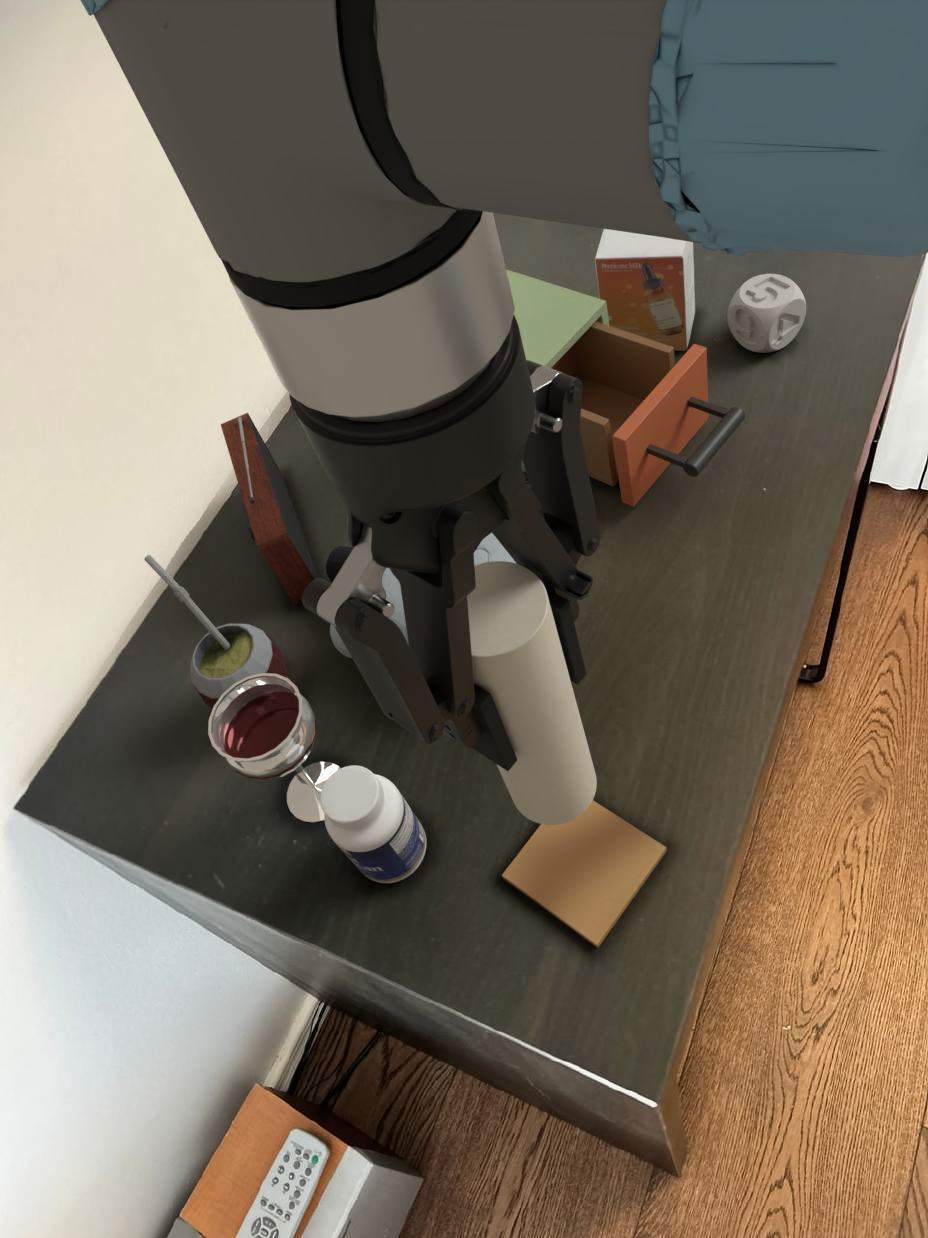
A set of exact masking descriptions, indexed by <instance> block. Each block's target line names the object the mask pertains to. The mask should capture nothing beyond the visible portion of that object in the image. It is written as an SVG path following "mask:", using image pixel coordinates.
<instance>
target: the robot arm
mask: <svg viewBox="0 0 928 1238" xmlns="http://www.w3.org/2000/svg"><path fill="white" fill-rule="evenodd" d="M80 2H81V4H82V6H83V7H84V9H85V11H86V12H87V14H88V16H89V17H91V16H93V17H94V19H95V21H96V22H97V25H98V26H99V28H100V30H101V32H102V34H103V37H104V38H105V40H106V42H107V44H108V46H109V47H110V51H112V54H113V55H114V57H115V59H116V62H117V63H118V65H119V66H120V69H121V71H122V73H123V75H124V77H125V78H126V81H127V83H128V84H129V86H130V89H131V90H132V93H133V94H134V96H135V98H136V100H137V102H138V104H139V106H140V108H141V110H142V111H143V113H144V115H145V117H146V119H147V122H148V123H149V125H150V127H151V130H152V131H153V134H154V135H155V136H156V139H157V140H158V142H159V144H160V146H161V148H162V151H163V152H164V154H165V156H166V158H167V160H168V162H169V164H170V166H171V168H172V170H173V172H174V174H175V175H176V177H177V179H178V181H179V183H180V185H181V187H182V189H183V191H184V193H185V194H186V196H187V198H188V200H189V203H190V205H191V206H192V208H193V210H194V213H195V214H196V216H197V219H198V220H199V223H200V224H201V226H202V228H203V230H204V232H205V234H206V236H207V238H208V240H209V242H210V244H211V246H212V247H213V250H214V251H215V253H216V255H217V257H218V258H219V259H220V261H221V263H222V265H223V267H224V269H225V271H226V273H227V276H228V278H229V281H230V283H231V285H232V287H233V289H234V292H235V293H236V295H237V298H238V299H239V301H240V304H241V306H242V308H243V310H244V312H245V313H246V315H247V318H248V320H249V321H250V324H251V325H252V329H254V332H255V334H256V335H257V337H258V340H259V342H260V343H261V344H260V345H261V346H262V348H263V350H264V352H265V354H266V356H267V358H268V360H269V361H270V364H271V366H272V368H273V370H274V372H275V374H276V376H277V378H278V380H279V382H280V384H281V385H282V386H283V388H284V389H285V390H286V391H287V393H288V396H289V401H290V404H291V407H292V409H293V411H294V413H295V415H296V417H297V419H298V421H299V423H300V425H301V428H302V430H303V432H304V433H305V435H306V438H307V439H308V441H309V444H310V446H311V447H312V450H313V451H314V454H315V456H316V457H317V460H318V462H319V463H320V465H321V466H320V467H322V470H323V471H324V474H325V475H326V477H327V479H328V480H329V482H330V483H331V485H332V486H333V488H334V490H335V491H336V492H337V494H338V496H339V497H340V498H341V500H342V501H343V503H344V505H345V508H346V515H347V516H346V517H347V518H346V519H347V522H346V535H347V540H348V542H349V544H350V547H351V548H353V550H352V551H351V553H350V555H349V556H348V558H347V560H346V561H345V563H344V565H343V566H342V568H341V569H340V571H339V573H338V574H337V576H336V578H335V579H334V581H333V582H331V581H328V580H327V579H325V578H322V577H318V579H315V580H313V581H312V582H310V583H309V585H308V586H307V587H306V588H305V591H304V593H303V597H302V602H301V603H302V606H303V607H304V608H305V609H307V610H308V611H309V612H311V613H313V614H314V615H316V616H318V617H319V618H321V619H322V620H324V621H325V622H326V623H328V624H330V625H331V624H332V625H333V626H334V627H335V629H336V631H337V632H338V634H339V636H340V638H341V639H342V641H343V643H344V645H345V646H346V648H347V650H348V652H349V653H350V655H351V657H352V658H351V659H352V661H353V662H354V664H355V665H356V667H357V669H358V671H359V672H360V674H361V676H362V678H363V679H364V681H365V683H366V685H367V687H368V688H369V690H370V692H371V693H372V695H373V697H374V699H375V700H376V703H377V704H378V706H379V707H380V709H381V711H382V713H383V715H385V716H386V717H388V718H389V719H390V720H392V721H393V722H395V723H396V724H397V725H399V726H400V727H402V728H404V729H405V730H407V731H408V732H409V733H411V734H413V735H414V736H415V737H416V738H418V739H419V740H421V741H423V742H424V743H426V744H427V745H431V744H434V743H435V742H436V741H438V739H439V738H440V737H441V735H442V734H443V733H444V734H445V735H447V736H448V737H450V738H451V739H453V740H455V741H456V742H457V743H459V744H460V745H462V746H463V747H465V748H468V749H473V750H474V751H476V752H478V753H479V754H481V755H482V756H484V758H487V759H488V760H490V761H491V762H493V763H494V764H496V766H497V765H499V766H500V767H502V768H503V769H505V770H506V771H509V770H510V769H511V767H512V766H513V765H514V764H515V763H516V761H517V757H516V755H515V752H514V750H513V747H512V745H511V742H510V740H509V737H508V735H507V732H506V730H505V728H504V725H503V723H502V720H501V718H500V715H499V713H498V710H497V708H496V705H495V703H494V700H493V698H492V695H491V693H489V692H488V691H486V690H484V689H483V688H481V687H480V686H478V685H476V684H475V683H474V678H473V665H472V653H471V640H470V627H469V614H468V601H467V596H468V595H469V594H470V593H471V592H472V591H474V590H475V588H476V581H475V566H474V552H475V550H476V549H477V547H478V546H479V544H480V543H481V541H482V540H483V539H484V538H485V537H487V536H488V535H489V534H491V533H493V535H494V536H495V537H496V538H497V540H498V541H499V542H500V543H501V545H502V546H503V547H504V548H505V550H506V551H507V552H508V553H509V555H510V556H511V557H512V558H513V560H514V561H515V562H516V563H517V564H519V565H521V566H524V567H526V568H527V569H529V570H531V571H532V572H533V573H534V574H536V575H537V576H538V578H539V579H540V580H541V581H542V583H543V584H544V586H545V589H546V591H547V595H548V599H549V603H550V606H551V610H552V614H553V617H554V621H555V625H556V629H557V632H558V636H559V640H560V643H561V647H562V651H563V655H564V658H565V662H566V666H567V669H568V673H569V677H570V681H571V683H574V684H575V685H580V683H581V681H582V680H583V679H585V676H586V675H587V670H586V666H585V663H584V657H583V654H582V649H581V645H580V641H579V638H578V632H577V628H576V624H575V622H577V620H578V619H579V616H580V615H579V614H580V604H579V601H583V600H584V599H585V598H586V597H587V596H588V595H589V593H590V591H591V590H592V588H593V587H592V586H593V584H594V583H593V582H594V579H593V576H591V575H589V574H587V573H585V572H583V571H582V570H579V569H578V567H577V564H578V562H579V560H580V559H581V557H582V556H585V557H587V558H588V557H592V556H593V554H595V552H596V551H597V550H598V548H599V546H600V542H601V532H600V526H599V521H598V514H597V511H596V504H595V500H594V494H593V490H592V485H591V484H592V483H591V479H590V476H589V474H588V468H587V463H586V458H585V453H584V448H583V443H582V437H581V432H580V417H581V404H582V392H583V384H582V382H581V380H580V379H577V378H575V377H572V376H569V375H567V374H564V373H562V372H559V371H556V370H554V369H551V368H548V367H546V366H543V365H540V364H537V363H535V362H532V361H529V360H526V357H525V352H524V348H523V343H522V339H521V334H520V330H519V325H518V323H517V320H516V318H515V316H514V311H515V306H514V302H513V298H512V293H511V289H510V284H509V280H508V276H507V272H506V270H507V267H506V264H505V259H504V254H503V251H502V246H501V243H500V237H499V234H498V233H499V232H498V228H497V226H496V225H497V224H496V220H495V216H494V214H499V215H506V216H513V217H520V218H527V219H532V220H533V219H534V220H541V221H546V222H547V221H548V222H554V223H562V224H569V225H574V226H580V227H581V226H582V227H588V228H596V229H602V230H604V229H609V230H616V231H623V232H630V233H637V234H643V235H650V236H657V237H664V238H670V239H676V240H682V241H689V242H693V243H694V244H695V243H696V244H701V247H702V248H703V249H707V250H710V251H713V252H714V251H715V252H716V251H721V252H723V253H725V254H727V255H732V256H740V257H744V256H745V255H746V254H747V253H754V254H761V255H766V254H768V253H769V252H771V251H773V250H774V249H776V250H777V249H780V250H794V251H808V252H809V251H810V252H824V253H837V254H848V255H849V254H851V255H863V256H876V257H892V258H909V257H917V256H922V255H925V254H928V0H80ZM522 460H523V463H524V467H525V471H526V472H524V471H522V469H521V464H522ZM526 478H527V481H526ZM386 568H390V570H391V572H392V574H393V575H394V576H395V577H396V578H397V580H398V581H399V583H400V587H401V594H402V601H403V608H404V615H405V622H406V629H407V636H408V643H409V645H408V643H407V641H406V639H405V637H404V635H403V633H402V631H401V630H400V628H399V627H398V626H397V625H396V624H395V623H394V622H393V621H392V620H390V619H389V617H391V616H392V614H393V612H394V605H393V604H392V603H390V602H389V601H387V600H386V591H385V590H384V588H383V586H382V576H383V573H384V571H385V569H386Z"/></svg>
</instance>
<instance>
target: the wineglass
mask: <svg viewBox="0 0 928 1238" xmlns="http://www.w3.org/2000/svg"><path fill="white" fill-rule="evenodd" d="M207 726H208V727H207V728H208V729H207V734H208V737H209V740H210V743H211V746H212V747H213V748H214V749H215V750H216V751H217V753H218V754H219V755H221V756H222V757H223V760H224V761H225V762H226V763H227V765H229V767H230V768H231V769H232V770H234V771H235V773H237V774H239V775H241V776H243V777H246V778H247V779H252V780H253V779H254V780H264V781H270V780H274V779H279V778H283V777H285V776H286V775H288V774H290V773H292V772H295V773H296V774H294V777H293V778H292V780H291V781H290V782H289V785H288V788H287V792H286V803H287V807H288V809H289V811H290V813H291V814H292V815H293V816H294V817H295V818H296V819H298V820H300V821H303V822H309V823H317V822H322V821H325V820H324V812H323V810H322V807H321V803H320V795H321V790H322V787H323V785H324V783H325V782H326V780H327V779H328V778H329V777H330V776H331V775H332V774H333V773H334V772H336V771H337V770H339V769H341V768H342V767H340V766H339V765H337V764H336V763H333V762H329V761H318V762H314V763H311V764H309V765H307V766H305V767H303V765H302V764H303V763H304V762H306V760H307V758H308V756H309V755H310V753H312V750H313V748H314V744H315V741H316V738H317V718H316V715H315V713H314V710H313V707H312V705H311V704H310V701H309V700H308V699H307V698H305V696H304V695H303V694H302V693H301V692H300V690H299V688H298V686H296V684H294V682H292V680H291V679H289V677H288V678H286V677H283V676H281V675H278V674H272V673H260V674H256V675H252V676H248V677H246V678H244V679H242V680H240V681H238V682H236V683H235V684H233V685H232V686H231V687H230V688H229V689H228V690H226V691H225V692H224V693H223V694H222V695H221V697H220V698H219V700H218V701H217V702H216V704H215V705H214V707H213V709H211V713H210V716H209V718H208V725H207Z"/></svg>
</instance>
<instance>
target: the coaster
mask: <svg viewBox="0 0 928 1238" xmlns="http://www.w3.org/2000/svg"><path fill="white" fill-rule="evenodd" d="M667 851H668V849H667V846H665V845H664V844H662V843H660V842H659V841H658V840H656V839H654V838H653V837H651V836H650V835H648V834H646V833H645V832H643V831H642V830H640V829H638V828H637V827H635V826H634V825H632V824H631V823H630V822H628V821H626V820H625V819H623V818H621V817H620V816H618V815H617V814H615V813H614V812H612V811H610V810H608V809H607V808H606V807H604V806H602V805H601V804H600V803H597V802H596V801H595V800H594V799H593V800H592V802H591V804H590V805H589V807H588V808H587V809H586V810H585V812H583V813H582V814H581V815H580V816H578V817H577V818H576V819H574V820H572V821H570V822H567V823H564V824H559V825H544V824H539V826H538V828H537V829H536V830H535V831H534V833H533V834H532V835H531V836H530V838H529V839H528V841H526V843H525V844H524V846H523V847H522V848H521V850H519V851H518V853H517V855H516V856H515V857H514V858H513V860H512V861H511V863H510V864H509V865H508V867H506V869H505V870H504V872H503V873H502V874H501V877H502V879H503V880H505V881H506V882H507V883H509V884H510V885H511V886H513V887H514V888H515V889H517V890H518V891H520V892H521V893H522V894H524V895H525V896H526V897H528V898H529V899H530V900H531V901H533V902H534V903H536V904H537V905H538V906H540V907H541V908H543V909H544V910H545V911H546V912H548V913H550V914H551V915H552V916H553V917H555V918H556V919H558V920H559V921H560V922H561V923H563V924H564V925H566V926H567V927H568V928H569V929H571V930H573V931H574V932H575V933H577V934H578V935H579V936H580V937H582V938H583V939H585V940H586V941H588V942H589V943H590V944H592V945H593V946H595V947H596V948H600V946H601V944H602V943H603V942H604V940H605V939H606V938H607V936H608V935H609V933H610V932H611V930H612V929H613V928H614V926H615V925H616V923H617V922H618V920H619V919H620V918H621V916H622V915H623V914H624V912H625V911H626V909H627V908H628V906H629V905H630V903H631V902H632V901H633V899H634V898H635V897H636V896H637V894H638V892H639V891H640V889H641V888H642V887H643V886H644V884H645V882H646V881H647V880H648V878H649V877H650V875H651V874H652V873H653V871H654V870H655V868H656V867H657V866H658V864H659V863H660V861H661V860H662V859H663V857H664V855H666V853H667Z"/></svg>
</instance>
